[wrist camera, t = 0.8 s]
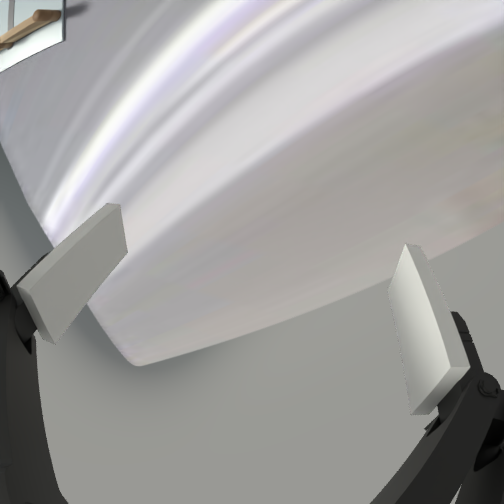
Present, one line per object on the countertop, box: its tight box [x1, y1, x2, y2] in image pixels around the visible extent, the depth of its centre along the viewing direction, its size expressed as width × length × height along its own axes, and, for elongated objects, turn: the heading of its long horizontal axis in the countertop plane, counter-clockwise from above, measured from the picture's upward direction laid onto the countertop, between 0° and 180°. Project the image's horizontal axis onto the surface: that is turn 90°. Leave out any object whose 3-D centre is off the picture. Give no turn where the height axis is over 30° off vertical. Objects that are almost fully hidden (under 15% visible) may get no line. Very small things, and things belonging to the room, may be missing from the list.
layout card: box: [0, 0, 64, 73], centre depth 28 cm, size 18×28×1 cm, turn 91°
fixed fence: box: [0, 9, 61, 49], centre depth 27 cm, size 2×15×5 cm, turn 91°
